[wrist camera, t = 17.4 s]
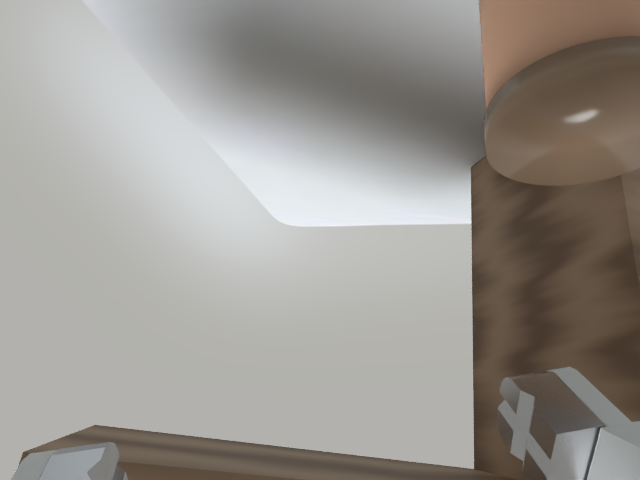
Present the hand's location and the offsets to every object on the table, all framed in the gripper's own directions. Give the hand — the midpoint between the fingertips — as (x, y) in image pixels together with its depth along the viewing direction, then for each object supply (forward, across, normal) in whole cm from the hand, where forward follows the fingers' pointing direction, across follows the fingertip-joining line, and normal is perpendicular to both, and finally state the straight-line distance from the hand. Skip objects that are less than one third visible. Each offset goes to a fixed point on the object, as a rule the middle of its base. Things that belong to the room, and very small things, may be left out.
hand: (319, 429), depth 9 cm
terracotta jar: (+14, +12, +14) cm, 23 cm away
